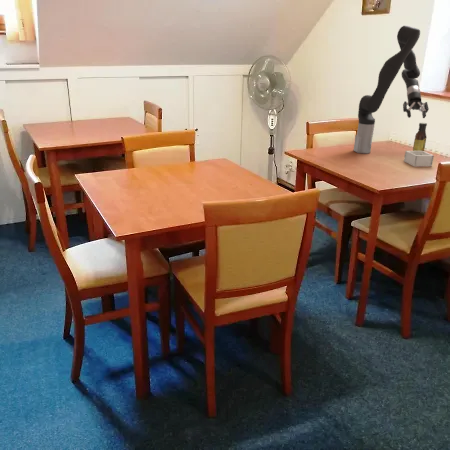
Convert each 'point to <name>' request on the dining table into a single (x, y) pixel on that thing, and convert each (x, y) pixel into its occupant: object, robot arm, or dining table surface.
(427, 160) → the bottle holder
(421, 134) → the sauce bottle
